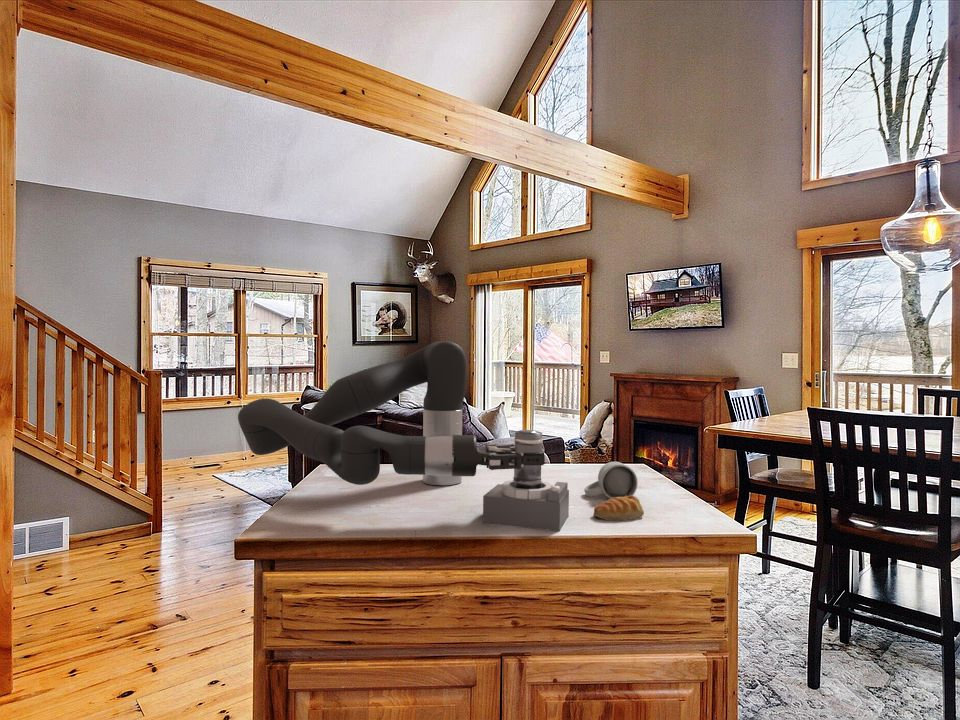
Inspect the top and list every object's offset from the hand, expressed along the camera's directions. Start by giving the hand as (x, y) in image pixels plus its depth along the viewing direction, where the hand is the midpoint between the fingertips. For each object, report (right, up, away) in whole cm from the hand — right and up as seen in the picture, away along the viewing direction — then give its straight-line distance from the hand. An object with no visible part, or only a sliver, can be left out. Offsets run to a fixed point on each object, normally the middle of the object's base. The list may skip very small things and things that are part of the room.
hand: (541, 456), depth 111 cm
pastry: (+15, -12, +4) cm, 20 cm away
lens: (-3, -7, 0) cm, 7 cm away
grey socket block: (-3, -12, 0) cm, 12 cm away
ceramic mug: (+17, -12, +18) cm, 28 cm away
